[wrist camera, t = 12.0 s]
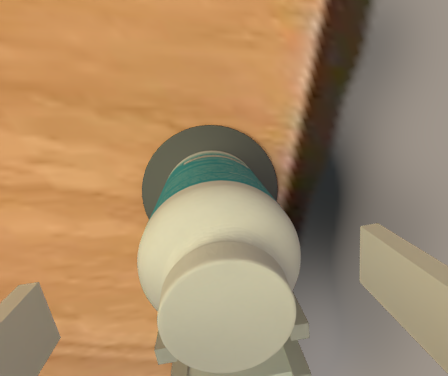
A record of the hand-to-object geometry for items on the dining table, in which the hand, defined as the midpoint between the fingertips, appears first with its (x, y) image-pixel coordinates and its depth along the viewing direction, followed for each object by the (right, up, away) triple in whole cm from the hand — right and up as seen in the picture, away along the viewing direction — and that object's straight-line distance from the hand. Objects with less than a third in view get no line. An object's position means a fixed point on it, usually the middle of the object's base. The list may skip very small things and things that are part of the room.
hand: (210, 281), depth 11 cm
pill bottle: (0, +3, +11) cm, 11 cm away
